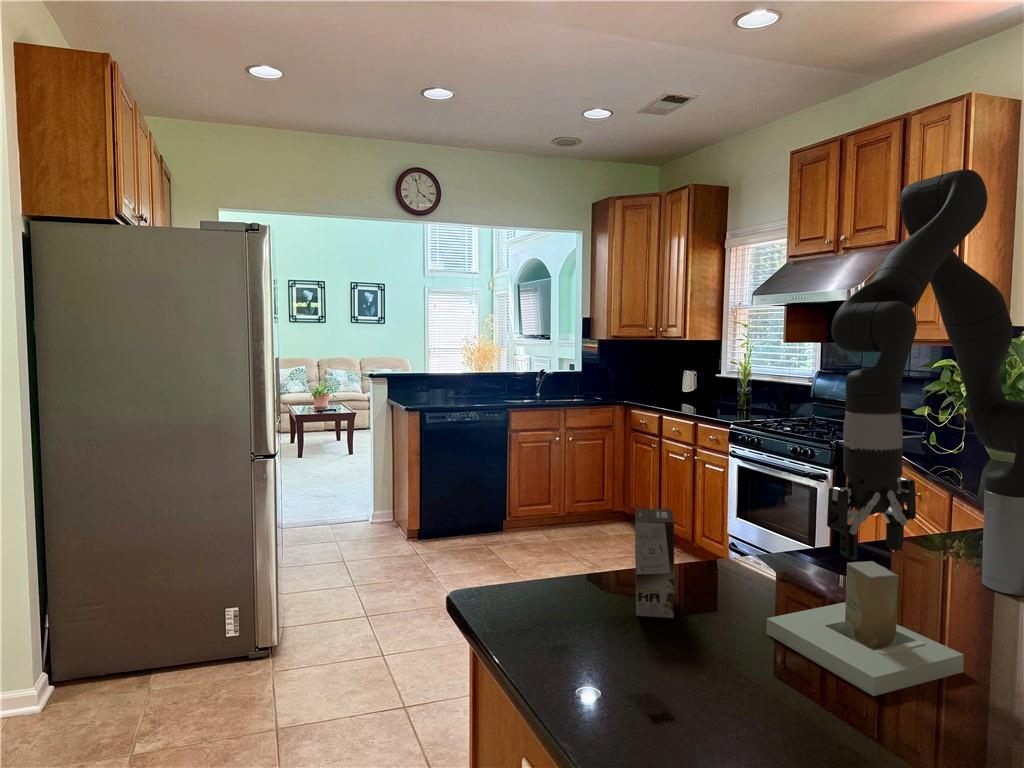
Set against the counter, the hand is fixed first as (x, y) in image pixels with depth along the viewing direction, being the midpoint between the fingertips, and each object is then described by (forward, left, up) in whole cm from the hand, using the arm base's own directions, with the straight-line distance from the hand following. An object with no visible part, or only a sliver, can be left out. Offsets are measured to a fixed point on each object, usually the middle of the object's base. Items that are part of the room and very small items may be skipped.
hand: (871, 553), depth 102 cm
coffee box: (+20, -26, -15) cm, 36 cm away
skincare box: (0, 0, -15) cm, 15 cm away
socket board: (+2, 0, -14) cm, 14 cm away
